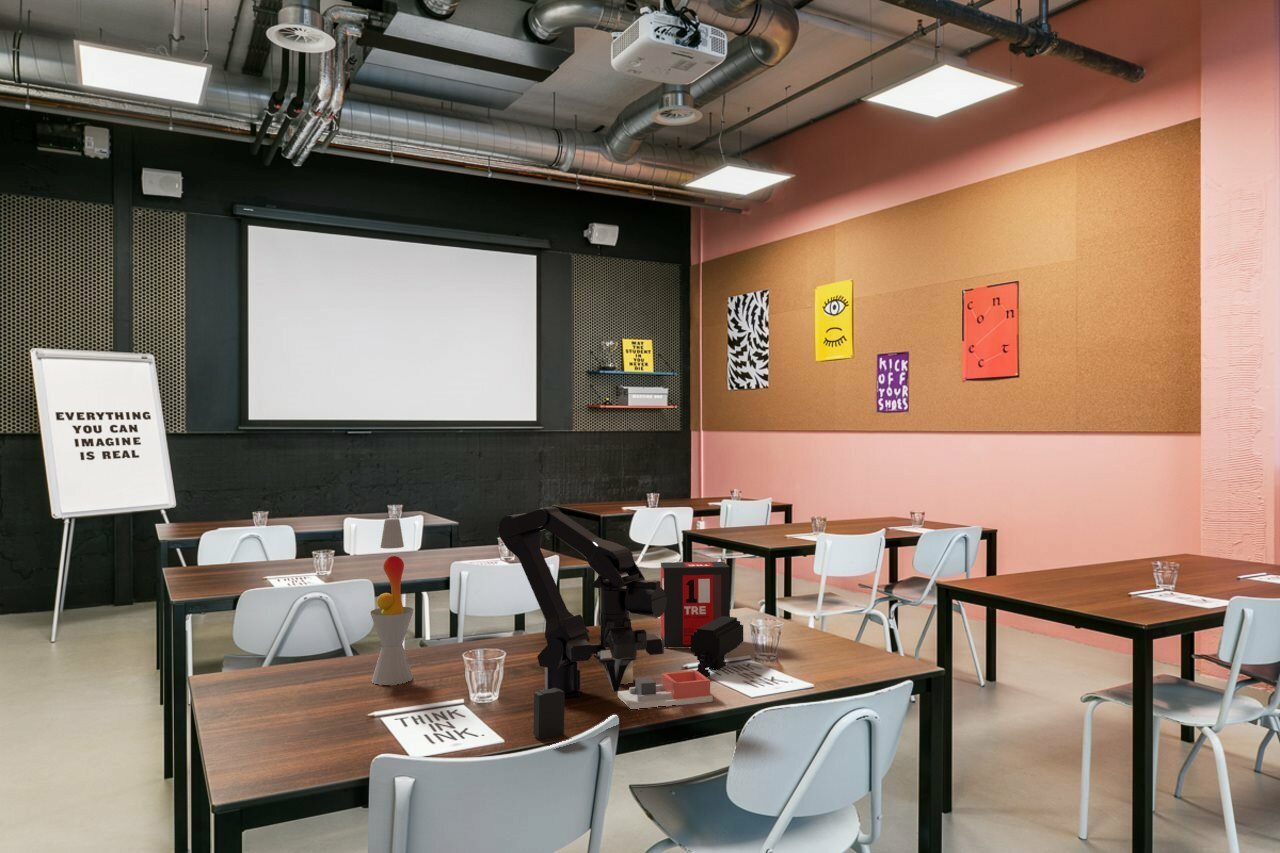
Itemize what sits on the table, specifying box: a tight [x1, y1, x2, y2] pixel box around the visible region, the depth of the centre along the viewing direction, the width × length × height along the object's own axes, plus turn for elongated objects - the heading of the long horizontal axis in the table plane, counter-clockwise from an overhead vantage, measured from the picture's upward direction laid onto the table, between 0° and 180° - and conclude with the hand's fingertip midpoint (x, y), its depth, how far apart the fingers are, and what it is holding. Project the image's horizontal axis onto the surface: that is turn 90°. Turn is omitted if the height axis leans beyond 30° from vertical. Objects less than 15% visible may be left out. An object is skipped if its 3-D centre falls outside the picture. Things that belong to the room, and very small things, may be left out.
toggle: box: [634, 676, 657, 695], centre depth 164 cm, size 3×4×3 cm
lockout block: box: [621, 660, 634, 685], centre depth 177 cm, size 4×4×6 cm
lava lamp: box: [369, 517, 415, 686], centre depth 179 cm, size 9×9×35 cm
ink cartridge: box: [532, 688, 566, 741], centre depth 145 cm, size 5×2×8 cm, turn 121°
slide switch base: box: [617, 669, 714, 710], centre depth 165 cm, size 17×9×4 cm, turn 107°
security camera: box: [690, 616, 744, 679], centre depth 187 cm, size 7×18×10 cm, turn 152°
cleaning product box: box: [660, 561, 731, 647], centre depth 210 cm, size 16×9×20 cm, turn 94°
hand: (615, 691), depth 162 cm, fingers closed
